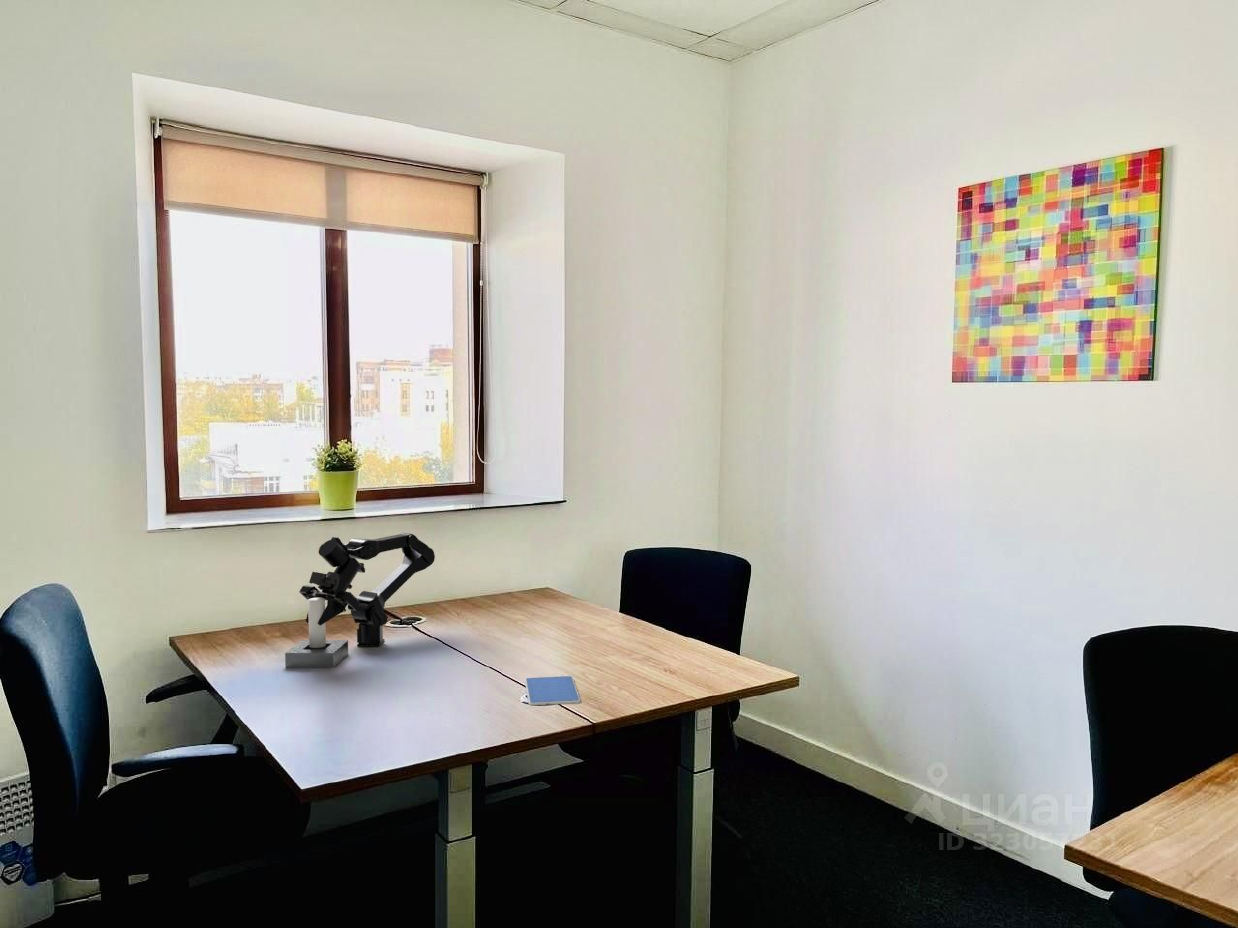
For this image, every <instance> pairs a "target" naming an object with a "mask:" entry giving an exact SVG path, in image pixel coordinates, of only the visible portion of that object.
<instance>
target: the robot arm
mask: <svg viewBox="0 0 1238 928" xmlns="http://www.w3.org/2000/svg"><path fill="white" fill-rule="evenodd" d="M398 549H401V551H402V554H403V560H402V563H401V564H400V565H398V567H397V568H396V569H394V570H393V572H391V573H390V574H389V575H388V576H387V577H386V578H385V579H384V580H383V581H382V582H381V583H380V584H379V585H378V586H377V587H376V588H375V589H374V590H372V591H368V590H363V591H361V592H360V593H359V595H357V596H355V595H354V594H353V593H352V592H351V591H347V590H348V589H349V590H351V589H352V588H353V585H352V584H351V583H352V582H353V581H354V579H355V577H356V575H357V574H358V573H362V574H363V573H365V574H366V568H365V564H364V562H359V560H363V561H369V560H371V559H373V558H376V557H377V556H378V555H379V554H381V553H385V552H389V551H394V550H398ZM318 555H319V556H320V557H321V558H322V559H324V561H325V562H326V563H327V564H328V565H329V566H330V567H332V568H335V569H334V571H327V572H326V573H323V572H316V571H312V573H311V575H310V578H309V581H308V583H309V584H311V585H309V584H305V585H302V586H301V588H300V590H299V591H298V593H299V594H301V595H302V596H303V598H305V599H306V601H308V599H311V598H325V601H327V603H326V604H327V605H326V606H325V610H324V612H323V614H322V616H321V617H320V619H319V621H318V624H319V625H320V626H321V625H322V624H324V623H325V624H326V623H327V622H329V621H331V620H332V619H333V618H334V617H337V616H338V615H340V614H342V613H344V612H345V613H346V612H347V609H348V610H349V611H350V615H351V616H352V618H353V621H354V623H355V624H358V628H357V629H356V641H357V644H356V647H380V646H381V645H382V644H383V643H384V642H385V641H386V640H385V639H384V637H383V636H384V635H383V634H384V633H383V632H384V631H383V627H384V625H386V624H387V622H388V619H389V616H388V615H387V614H386V613H385V612H384V610H385V604H386V602H387V601H388V600H389V599H390V598H391V597H392V596H394V594H396V593H397V592H398V590H400V588H402V587H403V585H405V584H406V582H408V581H409V579H411V578H412V576H414V575H415V574H416V573H419V572H422V571H423V570H426V569H427V568H429V567H431V566H432V565H433V563H435V562H434V561H435V558H436V555H435V551H434V549H433V548H431V547H430V546H428V544H426V543H424V542H423V541H421V540H420V539H419V538H418V537H417V536H416V535H415V534H413V533H409V532H402V533H399V534H393V535H388V536H384V537H378V538H375V539H374V538H371V539H369V538H351V539H350V540H349V542H347V543H343V542H342V541H341V539H340V538H339V537H337V536H332V537H331V539H328V540H327V541H325V542H324V543H322V544H321V545H320V546H319V548H318ZM312 584H313V585H317V587H316V586H313V585H312ZM320 590H321V591H320ZM346 608H347V609H346ZM305 622H306V623H307V624H309V618H308V612H307V615H306V617H305Z"/></svg>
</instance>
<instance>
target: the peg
mask: <svg viewBox="0 0 1238 928" xmlns="http://www.w3.org/2000/svg"><path fill="white" fill-rule="evenodd" d="M307 607H308V609H307V613H308V618H309V623H308V640H309V647H311V648H320V647H324V646H326V640H327V635H326V634H327V633H326V630H327V629H326V622H325V623H324V624H322V625H321V626H320V625H319V624H318V621H319V619H320V617H321V616H322V614H323V612H324V610H325V608H326V600H325V598H311V599H308V600H307Z"/></svg>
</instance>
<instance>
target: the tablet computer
mask: <svg viewBox="0 0 1238 928" xmlns="http://www.w3.org/2000/svg"><path fill="white" fill-rule="evenodd" d="M524 683H525V690H526V695H527V696H526V697H527V701H528V705H529V706H545V705H547V706H548V705H563V704H565V705H569V704H570V705H571V704H580V703H581V702H582V701H581V698H580V694H579V693H578V689H577V686H576V682H575V680H574V677H573V676H572V675H571V676H570V675H567V676H565V675H562V676H545V677H544V676H543V677H542V676H541V677H540V676H538V677H526V678H525V679H524Z"/></svg>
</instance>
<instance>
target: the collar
mask: <svg viewBox="0 0 1238 928" xmlns="http://www.w3.org/2000/svg"><path fill="white" fill-rule="evenodd" d="M348 655H349V640H346V639H342V640H340V639H339V640H338V639H326V646H324V647H320V648H311V647H309V639H302V640H300V641H299V642H297V643H296V644H295V645H294V646H292V647H291V648H290V649H287V651H286V652H285V653H284V659H285V661H284V663H285V668H290V669H291V668H294V669H296V668H297V669H298V668H300V669H301V668H303V669H305V668H307V669H309V668H310V669H311V668H312V669H315V668H316V669H319V668H320V669H334V668H336V666H337V665H338V664H339V663H340V662H342V661H343V660H344V658H346V657H347V656H348Z"/></svg>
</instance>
